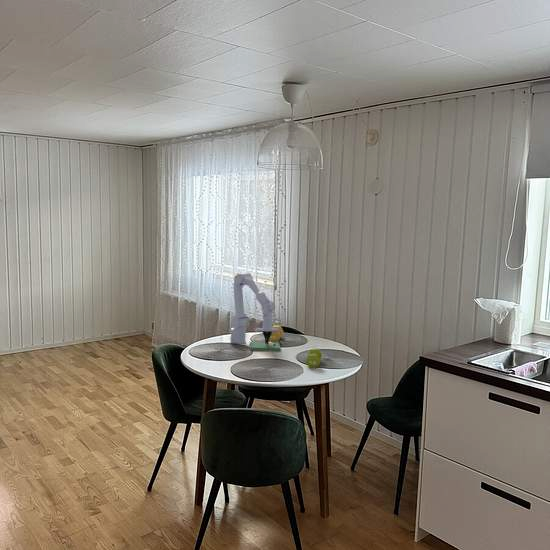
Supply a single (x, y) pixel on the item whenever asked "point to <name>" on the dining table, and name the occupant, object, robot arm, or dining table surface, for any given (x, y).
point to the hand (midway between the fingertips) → (266, 343)
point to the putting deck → (264, 346)
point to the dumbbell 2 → (276, 334)
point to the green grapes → (313, 358)
